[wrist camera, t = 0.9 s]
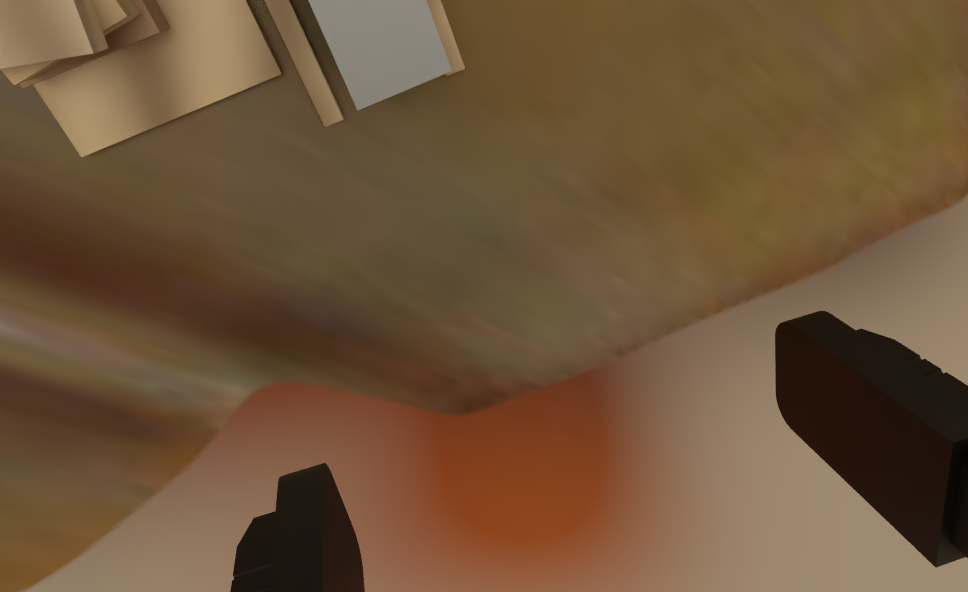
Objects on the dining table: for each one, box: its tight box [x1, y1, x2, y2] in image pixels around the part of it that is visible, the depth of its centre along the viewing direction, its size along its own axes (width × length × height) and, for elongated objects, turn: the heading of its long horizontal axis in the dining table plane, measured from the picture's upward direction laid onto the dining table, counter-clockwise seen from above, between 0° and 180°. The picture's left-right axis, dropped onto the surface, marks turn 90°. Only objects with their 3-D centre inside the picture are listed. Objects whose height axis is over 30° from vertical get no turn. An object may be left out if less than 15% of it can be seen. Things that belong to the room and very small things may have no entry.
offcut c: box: [0, 0, 108, 69], centre depth 24 cm, size 4×4×2 cm
